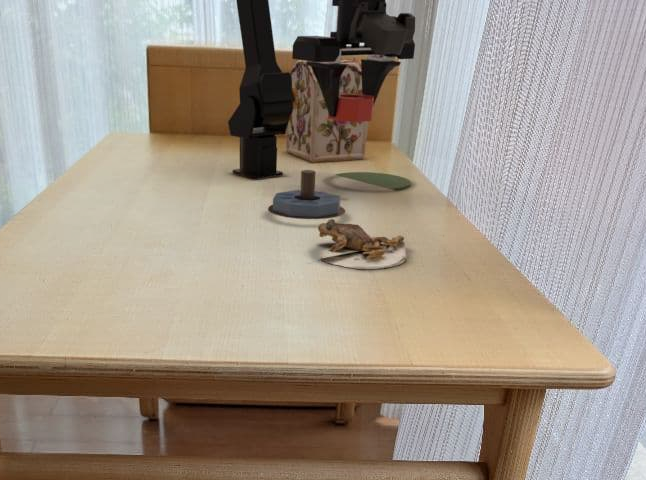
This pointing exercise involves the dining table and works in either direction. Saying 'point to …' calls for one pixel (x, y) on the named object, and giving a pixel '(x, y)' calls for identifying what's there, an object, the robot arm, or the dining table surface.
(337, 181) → the dining table surface
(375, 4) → the robot arm
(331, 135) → the decorative jar
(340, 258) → the frog figurine
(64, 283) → the dining table surface
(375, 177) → the mat
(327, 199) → the bottom ring
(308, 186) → the stacker
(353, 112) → the top ring
